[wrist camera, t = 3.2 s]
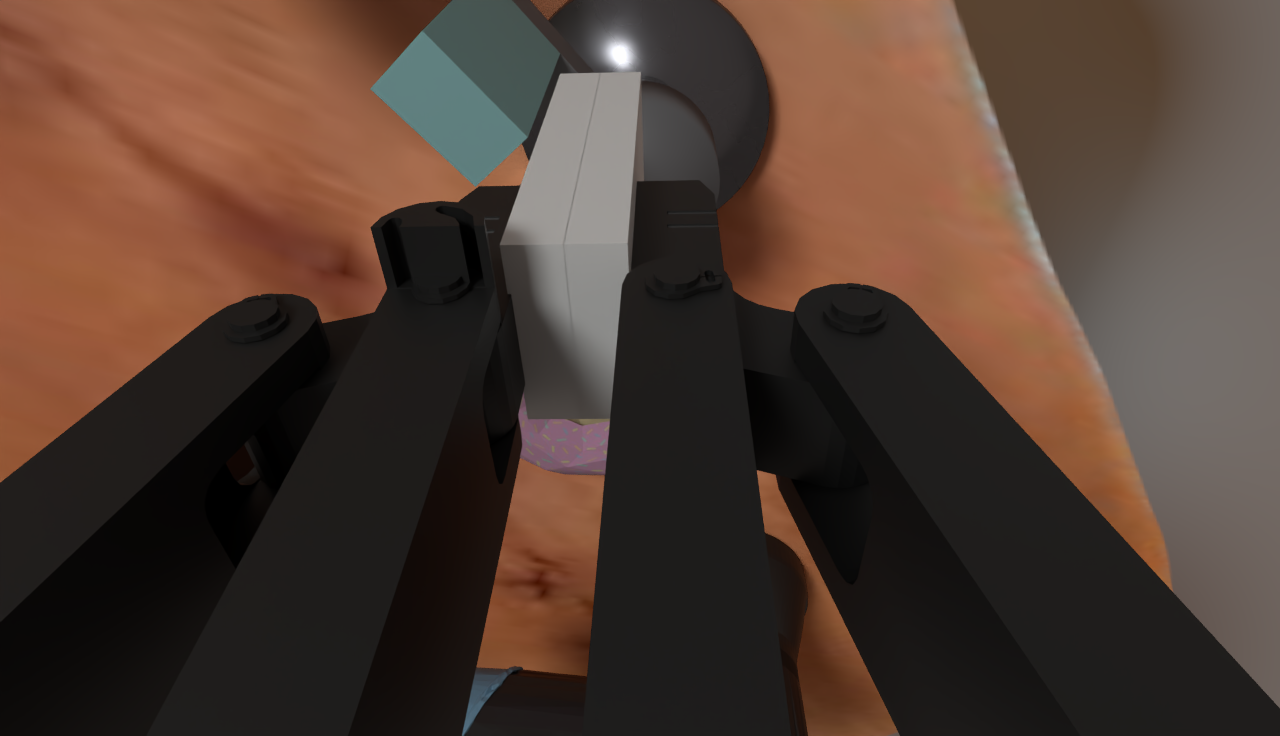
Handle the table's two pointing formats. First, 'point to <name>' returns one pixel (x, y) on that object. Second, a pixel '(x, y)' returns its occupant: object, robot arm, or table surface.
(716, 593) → the robot arm
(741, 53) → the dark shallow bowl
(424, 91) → the teal grey l-shaped block
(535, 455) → the donut
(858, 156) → the table surface
